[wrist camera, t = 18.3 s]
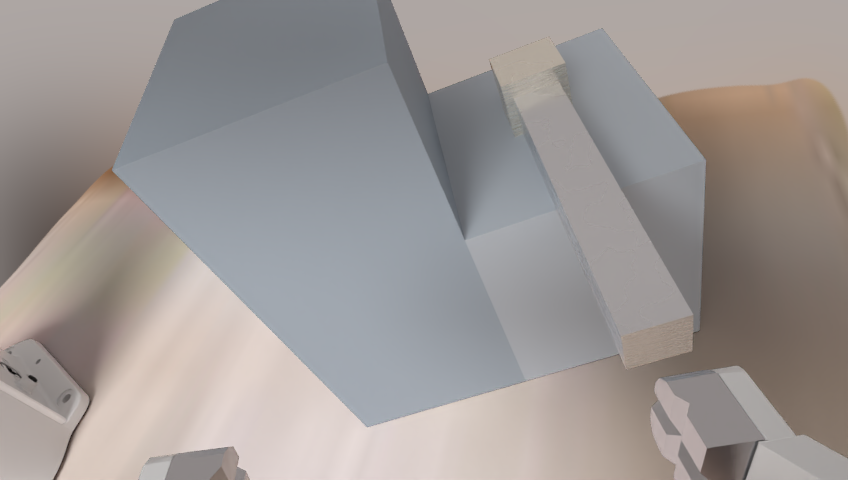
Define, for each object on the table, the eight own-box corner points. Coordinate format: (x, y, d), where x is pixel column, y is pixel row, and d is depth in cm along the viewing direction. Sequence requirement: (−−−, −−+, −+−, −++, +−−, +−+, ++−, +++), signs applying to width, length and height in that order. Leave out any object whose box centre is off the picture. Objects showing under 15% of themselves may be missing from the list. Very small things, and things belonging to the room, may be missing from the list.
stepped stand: (699, 330, 37) (714, -67, 19) (367, 427, 41) (111, 170, 23) (621, 193, 47) (581, -156, 29) (358, 281, 51) (174, 19, 32)
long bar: (497, 95, 35) (483, 46, 33) (551, 75, 35) (541, 24, 32) (612, 373, 21) (603, 325, 19) (706, 347, 21) (709, 293, 18)
